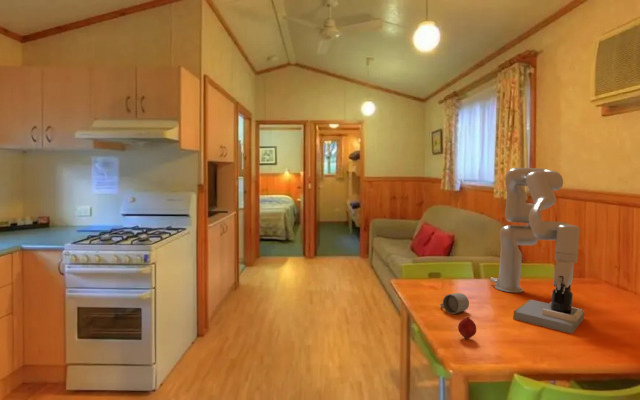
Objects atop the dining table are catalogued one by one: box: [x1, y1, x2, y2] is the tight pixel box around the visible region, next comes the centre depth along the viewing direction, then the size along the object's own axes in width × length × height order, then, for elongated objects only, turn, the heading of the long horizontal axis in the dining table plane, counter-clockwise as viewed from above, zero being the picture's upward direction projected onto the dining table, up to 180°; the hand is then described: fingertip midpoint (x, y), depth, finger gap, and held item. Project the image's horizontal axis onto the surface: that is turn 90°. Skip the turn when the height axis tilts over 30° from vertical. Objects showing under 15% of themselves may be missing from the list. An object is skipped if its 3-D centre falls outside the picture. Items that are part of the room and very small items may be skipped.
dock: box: [513, 299, 585, 335], centre depth 163 cm, size 20×22×5 cm
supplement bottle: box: [551, 284, 574, 315], centre depth 160 cm, size 7×7×12 cm
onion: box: [457, 315, 477, 340], centre depth 140 cm, size 6×6×8 cm
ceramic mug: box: [439, 292, 470, 315], centre depth 168 cm, size 11×8×8 cm
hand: (562, 300), depth 160 cm, fingers open, 9 cm apart
